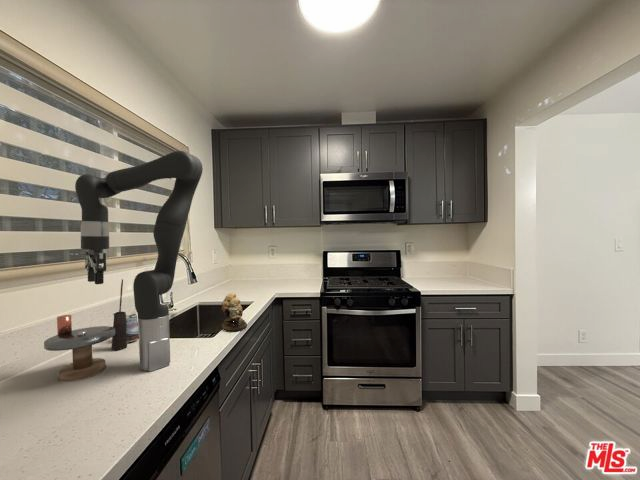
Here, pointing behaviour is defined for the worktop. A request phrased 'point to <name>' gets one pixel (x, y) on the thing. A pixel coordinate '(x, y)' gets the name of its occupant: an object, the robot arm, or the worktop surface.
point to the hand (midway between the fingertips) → (95, 282)
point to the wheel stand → (82, 365)
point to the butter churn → (119, 328)
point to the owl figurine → (233, 313)
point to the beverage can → (132, 327)
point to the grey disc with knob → (76, 335)
